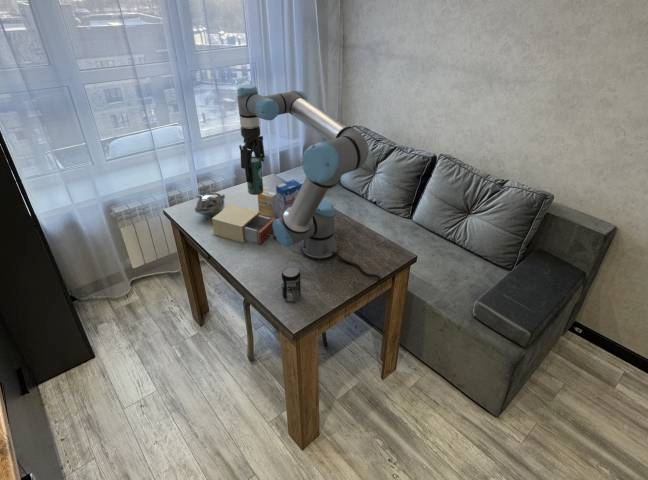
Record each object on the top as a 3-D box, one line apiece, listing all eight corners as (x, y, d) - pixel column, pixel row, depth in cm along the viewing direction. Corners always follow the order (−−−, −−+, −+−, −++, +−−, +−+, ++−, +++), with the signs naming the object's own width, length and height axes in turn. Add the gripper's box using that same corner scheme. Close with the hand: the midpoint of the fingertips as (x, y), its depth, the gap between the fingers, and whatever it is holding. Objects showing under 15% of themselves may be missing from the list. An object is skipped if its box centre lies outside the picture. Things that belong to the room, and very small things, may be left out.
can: (265, 192, 170) (262, 160, 163) (251, 196, 167) (248, 163, 160) (259, 187, 175) (256, 155, 167) (246, 190, 172) (243, 158, 164)
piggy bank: (192, 214, 193) (189, 194, 187) (222, 206, 201) (219, 186, 195) (201, 225, 185) (197, 203, 180) (231, 215, 193) (228, 195, 187)
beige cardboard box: (260, 227, 186) (259, 211, 182) (243, 243, 175) (241, 226, 170) (232, 219, 191) (230, 204, 186) (214, 234, 179) (211, 218, 175)
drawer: (287, 233, 181) (287, 221, 177) (273, 249, 170) (272, 236, 167) (249, 223, 187) (248, 211, 183) (233, 237, 176) (231, 224, 173)
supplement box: (258, 216, 194) (256, 193, 187) (263, 212, 198) (262, 188, 191) (273, 220, 191) (271, 196, 185) (278, 216, 195) (277, 192, 188)
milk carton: (285, 228, 186) (283, 190, 176) (277, 222, 190) (275, 185, 180) (302, 221, 192) (301, 184, 182) (295, 216, 196) (294, 179, 185)
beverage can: (287, 288, 151) (285, 263, 145) (303, 292, 149) (303, 267, 143) (279, 300, 145) (278, 274, 139) (296, 304, 144) (295, 279, 137)
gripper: (255, 117, 165) (259, 168, 177) (227, 131, 149) (233, 186, 161) (271, 120, 163) (274, 171, 174) (243, 134, 147) (249, 190, 159)
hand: (254, 178), depth 168 cm, fingers closed on can, 6 cm apart
